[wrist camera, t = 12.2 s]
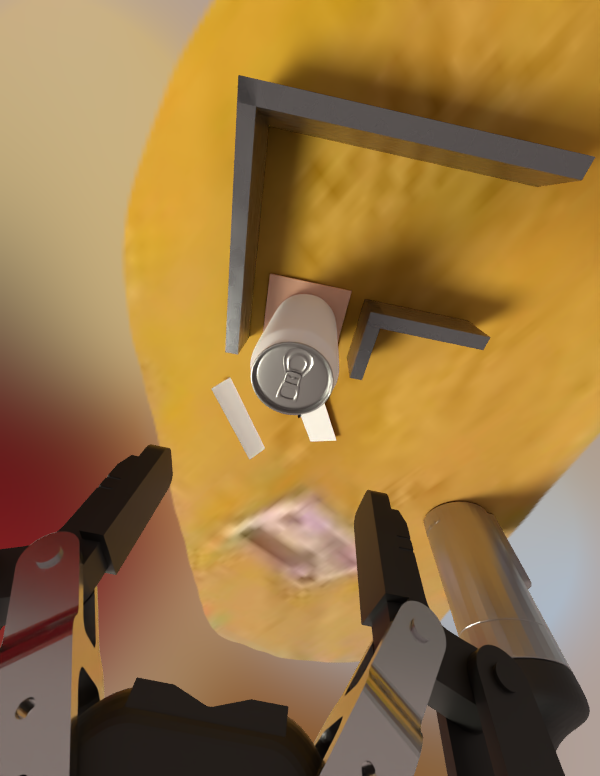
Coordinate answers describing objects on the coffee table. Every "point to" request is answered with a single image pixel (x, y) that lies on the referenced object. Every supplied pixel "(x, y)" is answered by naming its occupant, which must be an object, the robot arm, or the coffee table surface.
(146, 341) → the coffee table surface
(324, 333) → the can
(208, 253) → the coffee table surface
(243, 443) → the white strips
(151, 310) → the coffee table surface
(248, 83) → the guide rails
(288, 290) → the pad
